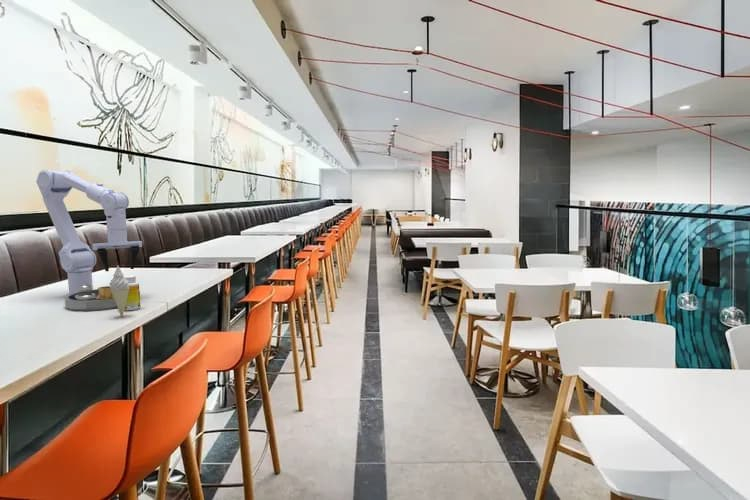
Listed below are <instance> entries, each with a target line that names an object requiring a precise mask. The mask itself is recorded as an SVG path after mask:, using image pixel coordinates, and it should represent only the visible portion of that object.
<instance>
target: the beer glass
mask: <svg viewBox="0 0 750 500" xmlns="http://www.w3.org/2000/svg"><path fill="white" fill-rule="evenodd" d="M124 277H125V278H126V279H127V281H128V282H129V284H128V285H129V286H128V287H129V291H128V296H127V300H126V304H125V309H124V312H125V311H128V312H129V311H135V310H138V309H140V308H141V291H140V283H139V282H138V281H137V277H136V275H133V274H129V275H128V274H126V275H124ZM139 291H140V292H139Z"/></svg>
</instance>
